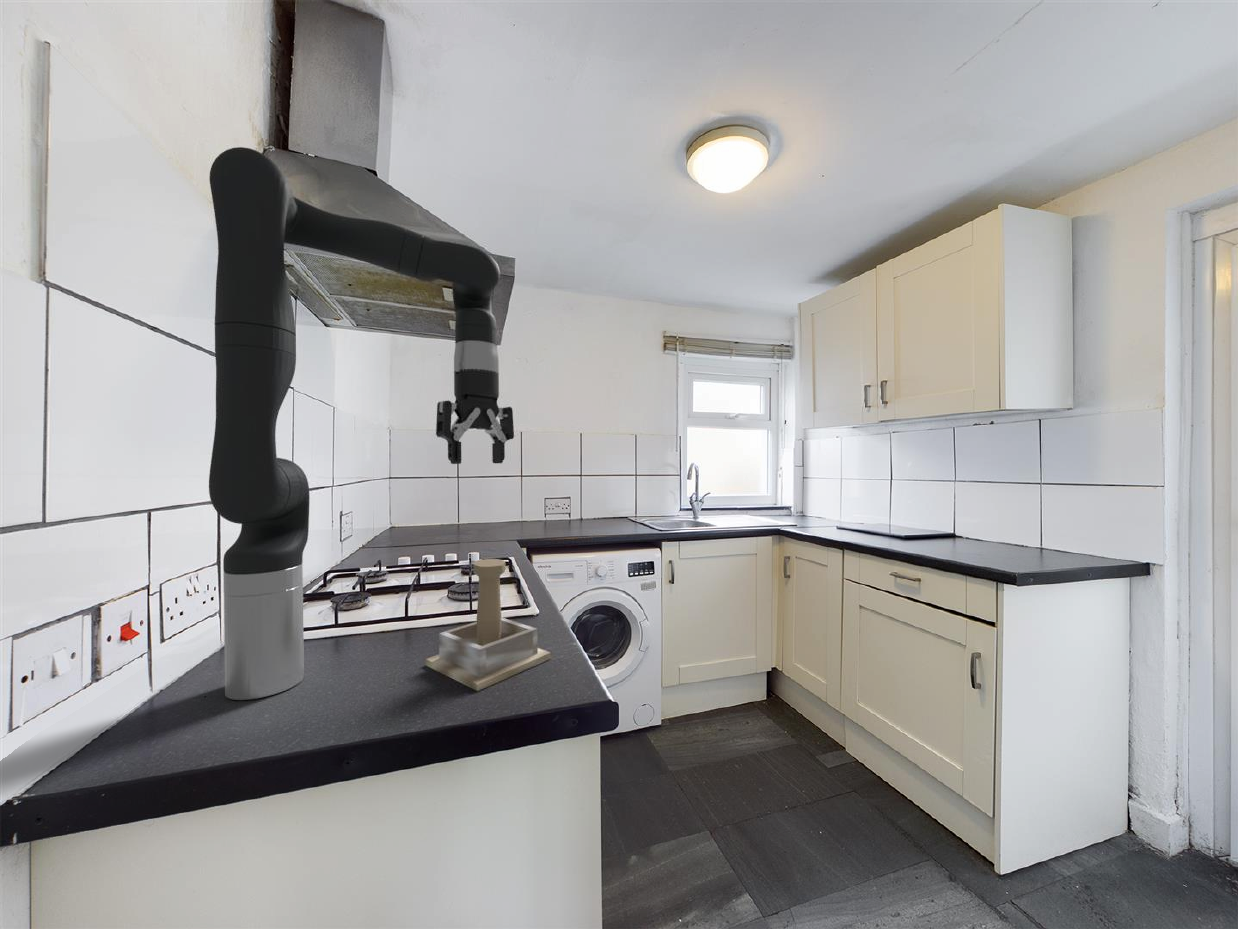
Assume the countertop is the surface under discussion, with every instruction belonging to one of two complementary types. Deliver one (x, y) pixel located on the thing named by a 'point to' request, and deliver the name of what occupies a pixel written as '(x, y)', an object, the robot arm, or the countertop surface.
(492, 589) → the handle
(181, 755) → the countertop surface
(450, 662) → the small square bin
